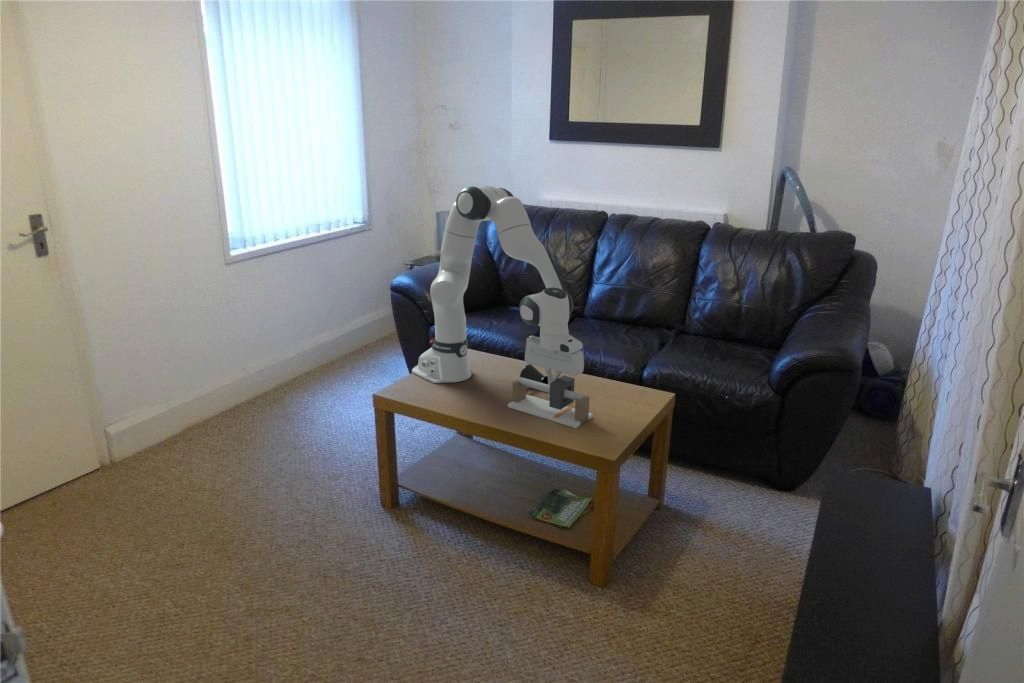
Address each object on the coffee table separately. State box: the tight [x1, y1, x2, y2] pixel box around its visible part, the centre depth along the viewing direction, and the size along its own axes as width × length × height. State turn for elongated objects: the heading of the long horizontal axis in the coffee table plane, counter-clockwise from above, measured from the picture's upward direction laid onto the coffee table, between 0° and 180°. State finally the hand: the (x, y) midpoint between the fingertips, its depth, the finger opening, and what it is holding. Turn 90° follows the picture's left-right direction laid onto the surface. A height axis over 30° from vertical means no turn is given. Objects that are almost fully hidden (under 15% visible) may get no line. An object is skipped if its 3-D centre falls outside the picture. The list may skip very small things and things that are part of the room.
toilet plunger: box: [519, 364, 549, 394], centre depth 243 cm, size 8×18×8 cm
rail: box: [507, 376, 594, 429], centre depth 225 cm, size 26×10×10 cm, turn 54°
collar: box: [549, 375, 575, 410], centre depth 221 cm, size 4×8×8 cm, turn 144°
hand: (553, 382), depth 222 cm, fingers closed
